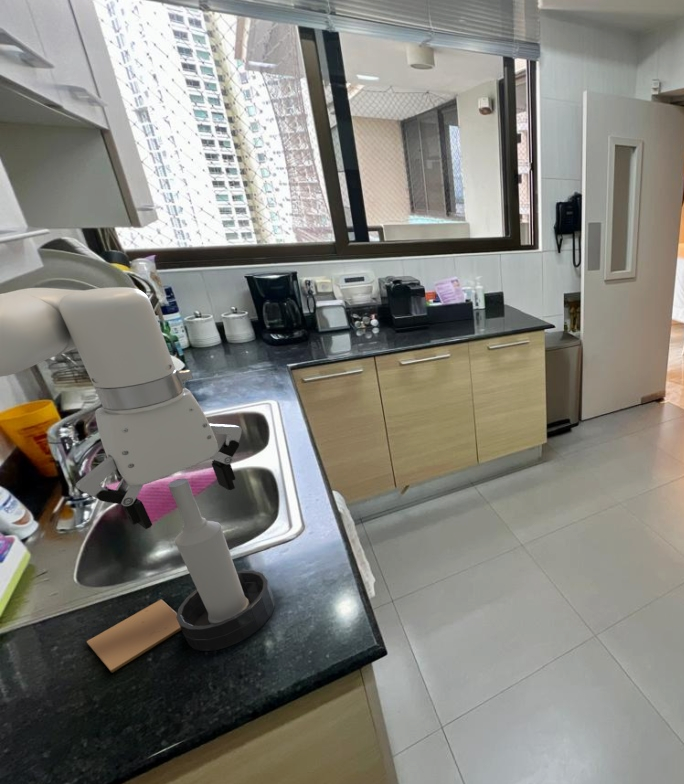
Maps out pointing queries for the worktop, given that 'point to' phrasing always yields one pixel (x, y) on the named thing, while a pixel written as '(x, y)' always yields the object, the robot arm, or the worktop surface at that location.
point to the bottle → (207, 558)
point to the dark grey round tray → (231, 629)
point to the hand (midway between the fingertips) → (188, 504)
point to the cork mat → (135, 635)
